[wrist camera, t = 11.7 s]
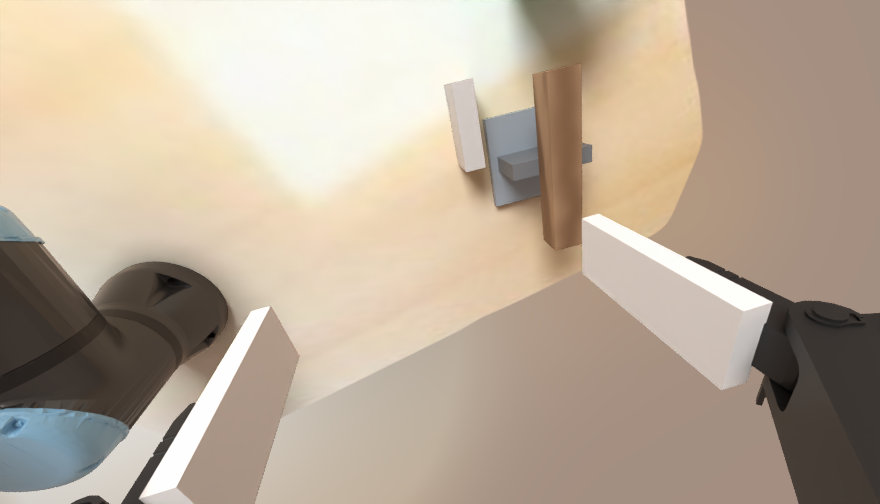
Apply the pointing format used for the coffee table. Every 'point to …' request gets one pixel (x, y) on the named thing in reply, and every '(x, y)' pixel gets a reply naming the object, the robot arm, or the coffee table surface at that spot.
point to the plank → (560, 153)
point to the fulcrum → (516, 156)
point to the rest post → (465, 124)
